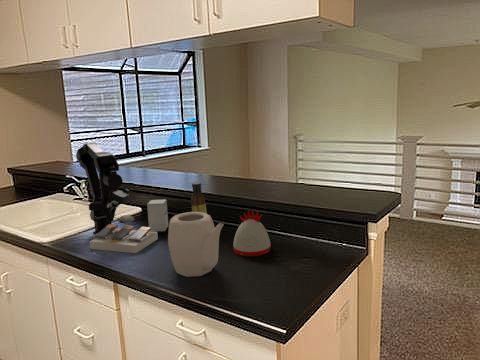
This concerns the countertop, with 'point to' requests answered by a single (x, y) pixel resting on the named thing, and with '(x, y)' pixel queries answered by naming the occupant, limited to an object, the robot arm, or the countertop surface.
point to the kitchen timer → (251, 237)
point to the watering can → (193, 243)
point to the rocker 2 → (123, 232)
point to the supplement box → (157, 215)
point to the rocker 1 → (106, 231)
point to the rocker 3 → (140, 233)
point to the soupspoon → (126, 218)
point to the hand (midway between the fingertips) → (111, 221)
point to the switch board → (122, 242)
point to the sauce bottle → (198, 199)
